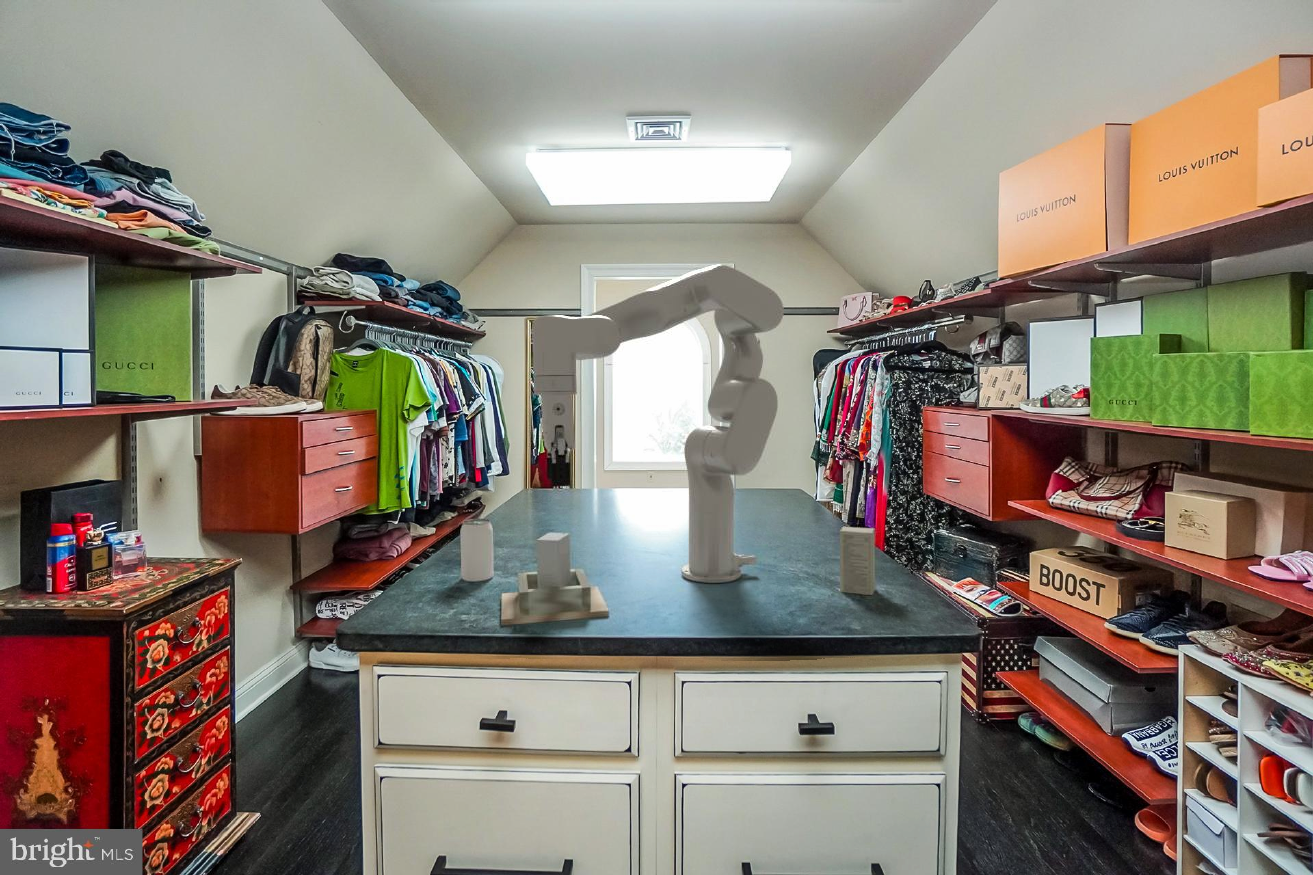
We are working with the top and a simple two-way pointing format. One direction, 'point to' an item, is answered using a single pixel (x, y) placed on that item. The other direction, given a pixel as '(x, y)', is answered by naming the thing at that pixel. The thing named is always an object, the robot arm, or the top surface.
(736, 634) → the top surface
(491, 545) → the can
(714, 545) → the robot arm
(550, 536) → the skincare box
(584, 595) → the bottle stand
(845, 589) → the skincare box
